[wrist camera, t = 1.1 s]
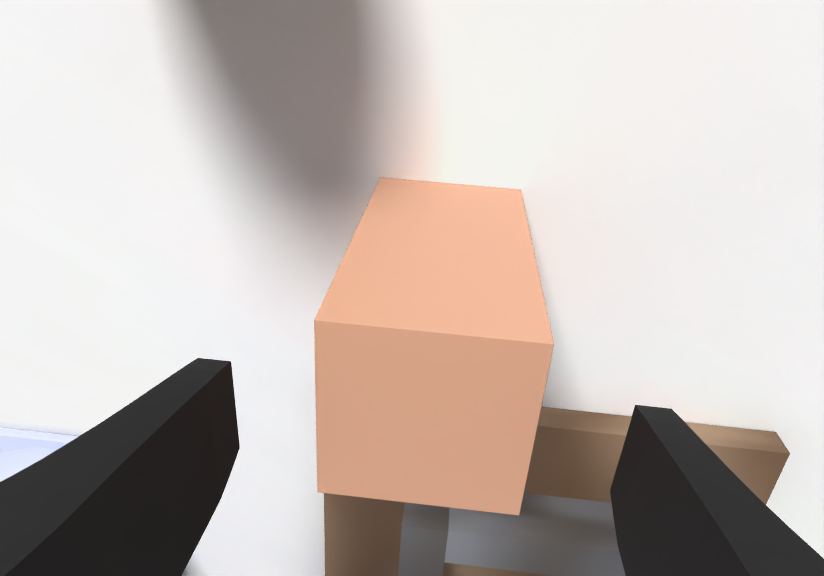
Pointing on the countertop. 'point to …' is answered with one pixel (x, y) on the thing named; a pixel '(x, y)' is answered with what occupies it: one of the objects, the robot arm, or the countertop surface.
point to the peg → (433, 350)
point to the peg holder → (528, 509)
